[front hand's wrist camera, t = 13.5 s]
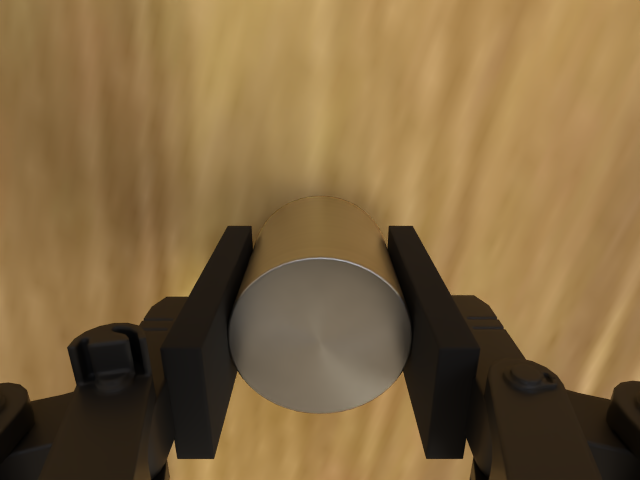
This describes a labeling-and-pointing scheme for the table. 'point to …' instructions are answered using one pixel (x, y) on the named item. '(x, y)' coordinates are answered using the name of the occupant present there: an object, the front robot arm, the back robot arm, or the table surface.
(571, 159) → the table surface
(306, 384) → the canister
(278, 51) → the table surface
